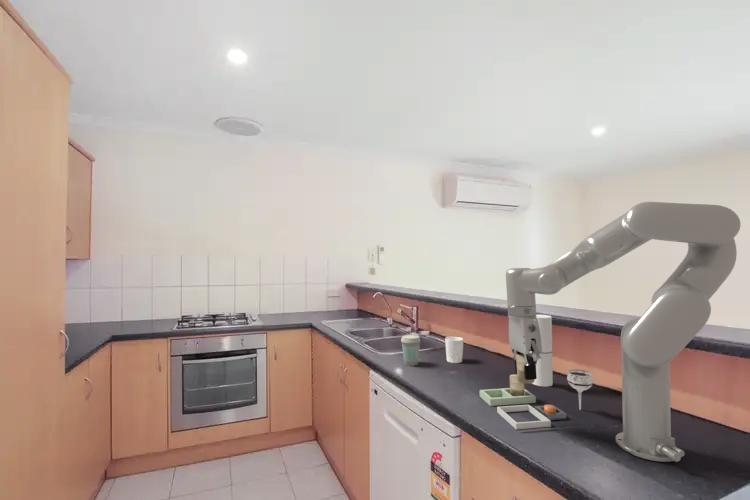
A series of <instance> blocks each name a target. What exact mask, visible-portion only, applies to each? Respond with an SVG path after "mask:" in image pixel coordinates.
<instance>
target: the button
mask: <svg viewBox="0 0 750 500" xmlns="http://www.w3.org/2000/svg"><path fill="white" fill-rule="evenodd" d="M553 405H554V404H544V405H543V406H544V411H545V412H547V413H556V407H557V406H556V407H555V405H554V406H553Z"/></svg>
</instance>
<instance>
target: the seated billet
mask: <svg viewBox="0 0 750 500" xmlns="http://www.w3.org/2000/svg"><path fill="white" fill-rule="evenodd" d="M509 388H510V394H511V395H512V396H525V394H524V389H525V383H521V382H518V379H517V374H510V375H509Z"/></svg>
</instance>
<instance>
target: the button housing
mask: <svg viewBox="0 0 750 500" xmlns="http://www.w3.org/2000/svg"><path fill="white" fill-rule="evenodd" d="M552 405H553V406H555V405H554V404H552ZM555 407H556V413H547V412H545V411H544V405H537V406H536V405H535V406H534V409H535V410H537V411H538V412H539V413H541V414H542V415H544V416H545V417H546V418H548V419H549V420H550V421H558V420H559V421H560V420H567V413H566V412H564V410H562V409H560V408H559V407H557V406H555Z"/></svg>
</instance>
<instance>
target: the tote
mask: <svg viewBox="0 0 750 500" xmlns="http://www.w3.org/2000/svg"><path fill="white" fill-rule="evenodd" d="M496 410H497V411H496V412H497V413H498V414H499V415H500V416H501V417H502V418H503V420H505V421H506V422H507V423H509V424H510V426H511V427H513V428H514V429H515V432H524V431H537V430H549V429H551V427H552V420H549V419H548V418H546V417H545V416H544V415H542V414H541V413H539V412H538V411H537V410H535V407H534V406H531V405H530V404H515V405H502V406H496ZM526 411H528V412H530V413H531V414H532V415H533V416H534V417H536V418H537V419H538V420H533V421H532V420H531V421H520V422H519V421H518V422H517V421H516V420H514V419H513V418H512V417H511V416H510V415H509V414H507V413H514V412H526Z"/></svg>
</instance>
